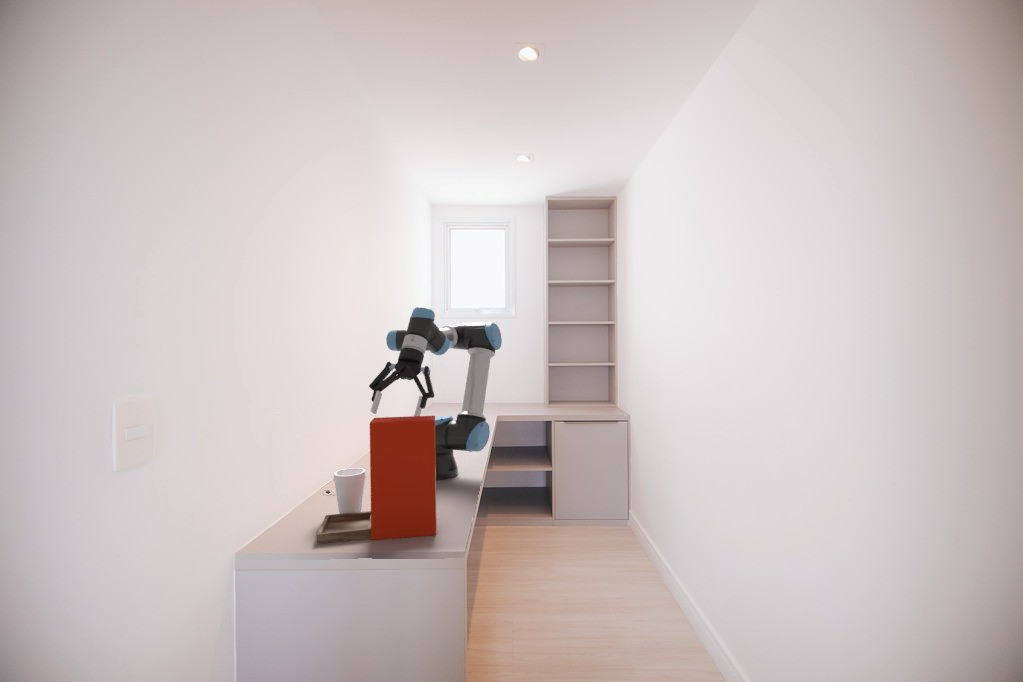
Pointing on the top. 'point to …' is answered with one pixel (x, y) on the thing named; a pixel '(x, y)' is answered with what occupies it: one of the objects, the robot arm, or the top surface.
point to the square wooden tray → (345, 527)
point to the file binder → (403, 477)
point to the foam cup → (349, 489)
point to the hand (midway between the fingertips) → (394, 415)
